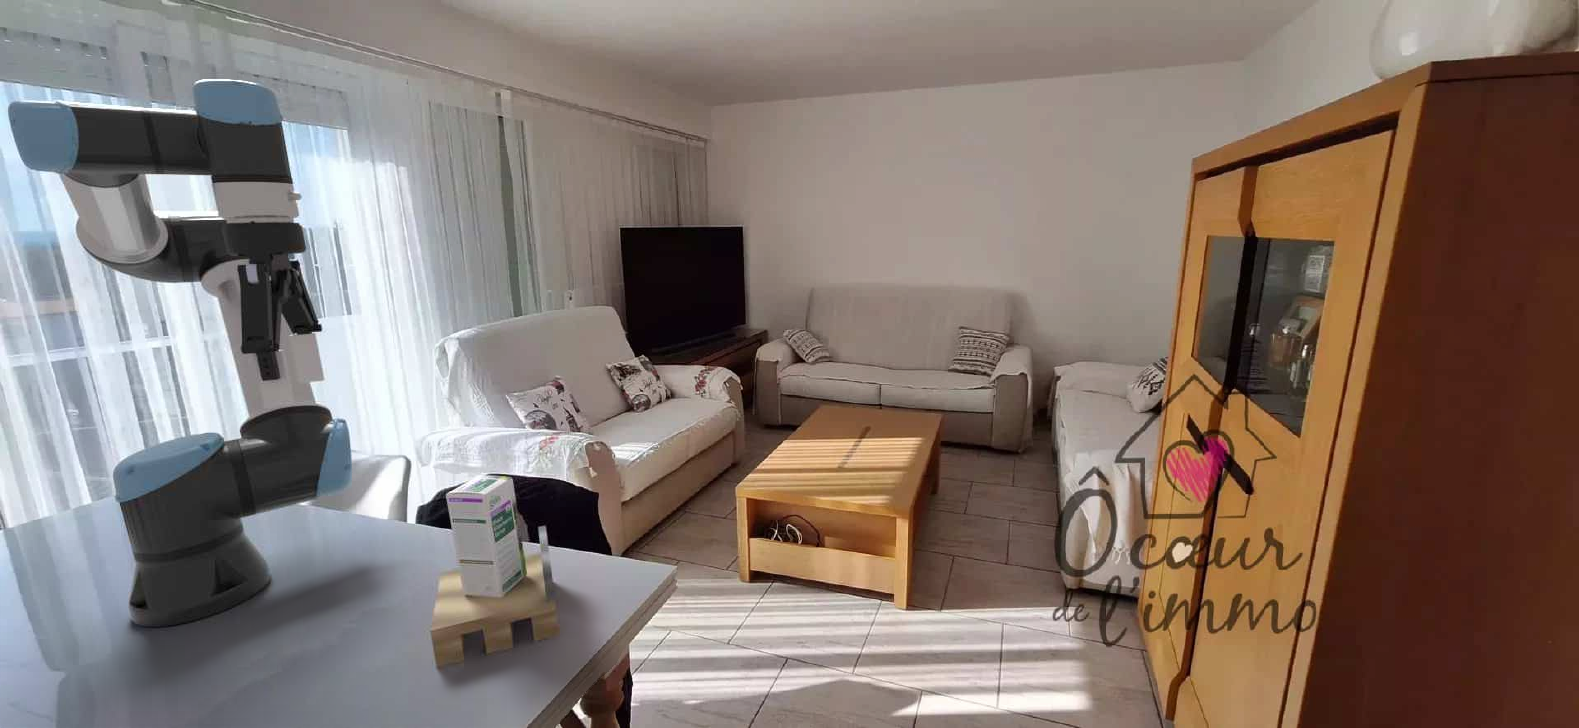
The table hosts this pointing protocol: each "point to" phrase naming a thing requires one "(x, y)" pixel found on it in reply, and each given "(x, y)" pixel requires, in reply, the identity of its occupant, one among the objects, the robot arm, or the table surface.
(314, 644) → the table surface
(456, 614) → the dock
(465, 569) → the syrup box
